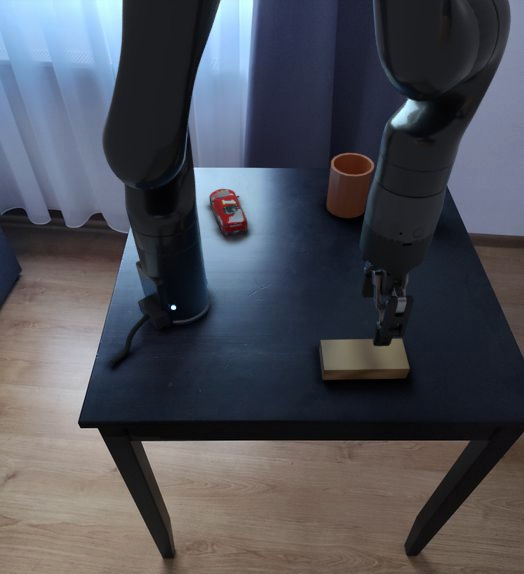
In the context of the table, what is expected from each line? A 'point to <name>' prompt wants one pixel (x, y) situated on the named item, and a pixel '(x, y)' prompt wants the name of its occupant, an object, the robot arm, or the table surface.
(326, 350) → the block
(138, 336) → the table surface
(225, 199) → the race car
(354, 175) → the cup
